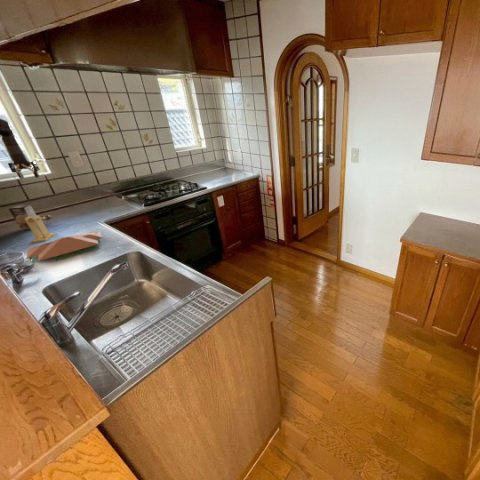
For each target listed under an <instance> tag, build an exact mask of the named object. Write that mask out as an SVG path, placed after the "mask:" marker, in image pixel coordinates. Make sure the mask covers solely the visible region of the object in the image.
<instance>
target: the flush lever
mask: <svg viewBox="0 0 480 480" xmlns="http://www.w3.org/2000/svg"><path fill="white" fill-rule="evenodd" d="M40 218H41V220H44V221H51V220H52V216H51V215H49V214H46V215H44V216H43V217H40ZM29 221H30V222H34V221H33V219H32V218H29Z"/></svg>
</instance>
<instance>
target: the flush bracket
mask: <svg viewBox="0 0 480 480" xmlns="http://www.w3.org/2000/svg"><path fill="white" fill-rule="evenodd" d="M29 218H32V216H29V217H27V218H25V221H26V222H27V224H28V226H29V227H30V229H29V230H31V233H32V234H33V235H34V237H35V238H33V239H31V240H30V243H43V242H47V241H49V240H50V239H52V238H53V237H54V236H56V235H57V232H49V230H48V228H47V226H46V225H45V223H44V222H43V219H41V218H42V217H41V215H39V214H38V215H36V216H35V217H33V218H32V219H33V221H34V222H30V221H29Z"/></svg>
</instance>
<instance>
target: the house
mask: <svg viewBox="0 0 480 480" xmlns="http://www.w3.org/2000/svg"><path fill="white" fill-rule="evenodd" d="M102 238H103V236H102V234H101V232H94V231H91V232H85V233H81V234H80V233H79V234H74V235H69V236H65V237H62V238H58V239H54V240H53V241H49V242H44V243H41V244H38V245H35V246H31V247H29V248H27V252H26V260H27V259H29V260H30V261H31V259H32V257H33V258H34V259H33V261H34V262H35V260H36V259H37V262H41V261H45V260H48V259H51V258H54V259H55V261H56V262H58V261H60V256H64V257H61V258H62V259H61V261H62V260H66V259H67V257H69V256H68V255H70V253H71V257H74V256H75V255H74V254H77V255H82V254H83V255H84V249H85V251H88V252H91V248H90V247H92V248H93V249H95V251H96V250H98V249H100V247H99V243H100V242H101V239H102ZM95 246H96V247H97V248H95ZM36 256H37V257H36ZM33 261H32V262H33Z"/></svg>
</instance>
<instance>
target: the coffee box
mask: <svg viewBox="0 0 480 480" xmlns="http://www.w3.org/2000/svg"><path fill="white" fill-rule="evenodd" d="M8 211H9V212H10V214H11V215H12V217H13V219H14V220H15V222H16V223H17V225H18V227H19V228H20V230H21V231H27V230H31V229H30V227H29V226H28V224H27V222H26V221H25V218H27V217H29V216H32V218H33V217H35V216H37V214H36V211H35V210H34V208H33V207H32V205H31V204H17V205H13V206H11V207H9V208H8Z"/></svg>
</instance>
